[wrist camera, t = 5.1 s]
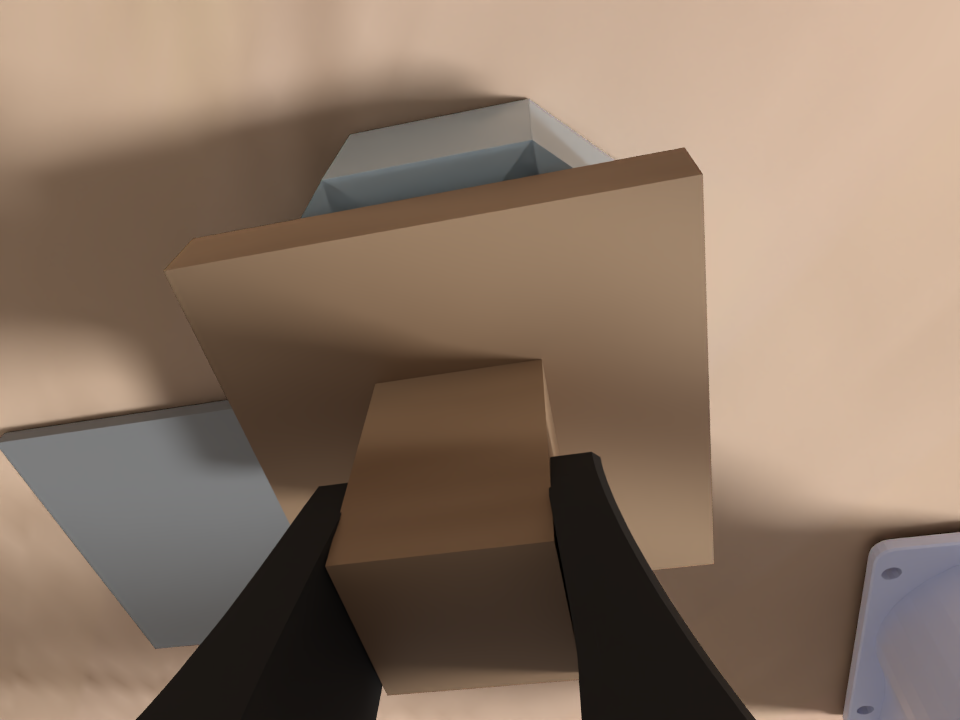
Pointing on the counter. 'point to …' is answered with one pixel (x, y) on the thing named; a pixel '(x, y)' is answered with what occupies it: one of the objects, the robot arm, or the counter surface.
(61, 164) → the counter surface
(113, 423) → the mat
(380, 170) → the bowl
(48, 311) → the counter surface
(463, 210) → the lid
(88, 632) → the counter surface
